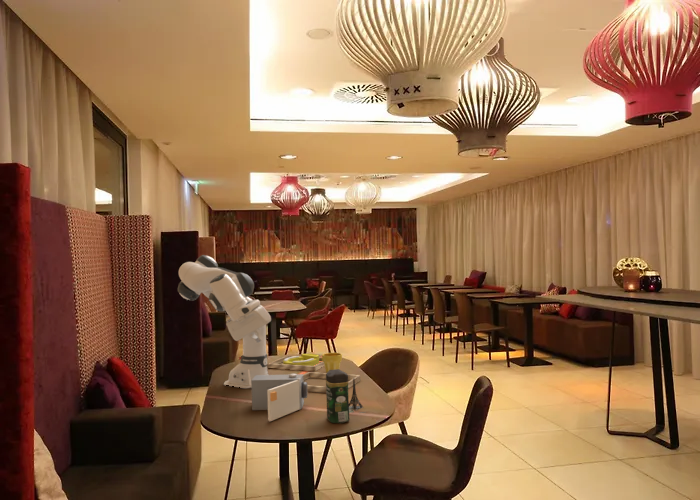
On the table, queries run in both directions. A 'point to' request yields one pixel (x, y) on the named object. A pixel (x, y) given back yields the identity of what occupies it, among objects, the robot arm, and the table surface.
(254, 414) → the table surface
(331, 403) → the coffee jar
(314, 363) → the ashtray
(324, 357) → the plant pot
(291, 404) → the side door
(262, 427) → the table surface
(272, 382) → the camera body
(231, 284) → the robot arm
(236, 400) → the table surface
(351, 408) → the eiffel tower figurine
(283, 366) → the oak tray frame under the ashtray
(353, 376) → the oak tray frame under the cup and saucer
